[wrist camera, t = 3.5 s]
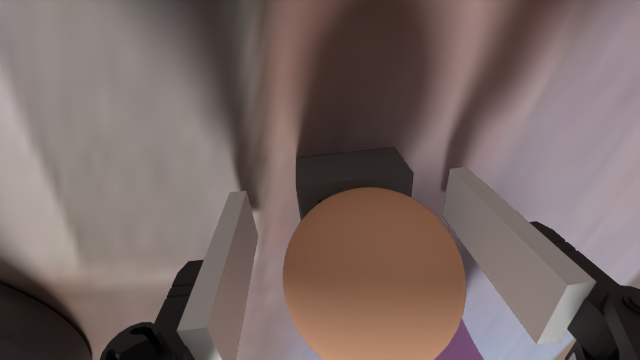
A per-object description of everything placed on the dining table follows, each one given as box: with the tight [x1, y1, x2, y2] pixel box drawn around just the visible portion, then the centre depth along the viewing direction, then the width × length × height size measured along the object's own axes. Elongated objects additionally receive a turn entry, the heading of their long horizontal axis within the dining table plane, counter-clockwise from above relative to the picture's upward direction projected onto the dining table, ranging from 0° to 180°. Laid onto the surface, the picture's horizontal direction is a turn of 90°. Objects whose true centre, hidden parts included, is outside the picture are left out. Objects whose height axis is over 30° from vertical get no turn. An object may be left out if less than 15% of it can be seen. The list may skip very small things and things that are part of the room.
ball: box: [283, 187, 466, 360], centre depth 10 cm, size 6×6×6 cm
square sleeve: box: [296, 147, 414, 221], centre depth 13 cm, size 5×5×2 cm
